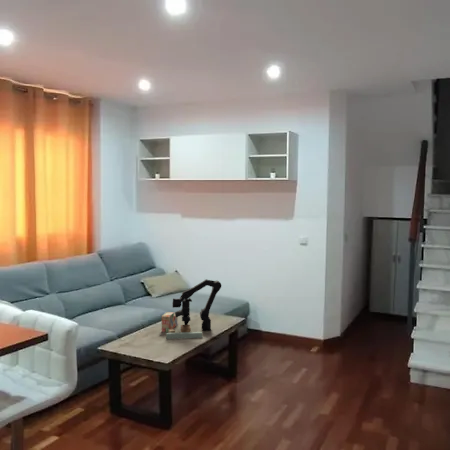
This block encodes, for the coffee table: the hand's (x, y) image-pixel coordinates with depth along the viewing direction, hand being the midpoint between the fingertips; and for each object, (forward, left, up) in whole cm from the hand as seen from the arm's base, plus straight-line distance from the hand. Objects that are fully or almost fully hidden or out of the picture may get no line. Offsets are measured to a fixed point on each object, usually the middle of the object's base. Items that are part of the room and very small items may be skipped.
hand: (185, 327), depth 376 cm
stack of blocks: (+12, -8, -3) cm, 15 cm away
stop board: (+2, +18, -3) cm, 19 cm away
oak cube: (+11, +12, -3) cm, 16 cm away
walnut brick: (0, +6, -3) cm, 7 cm away
